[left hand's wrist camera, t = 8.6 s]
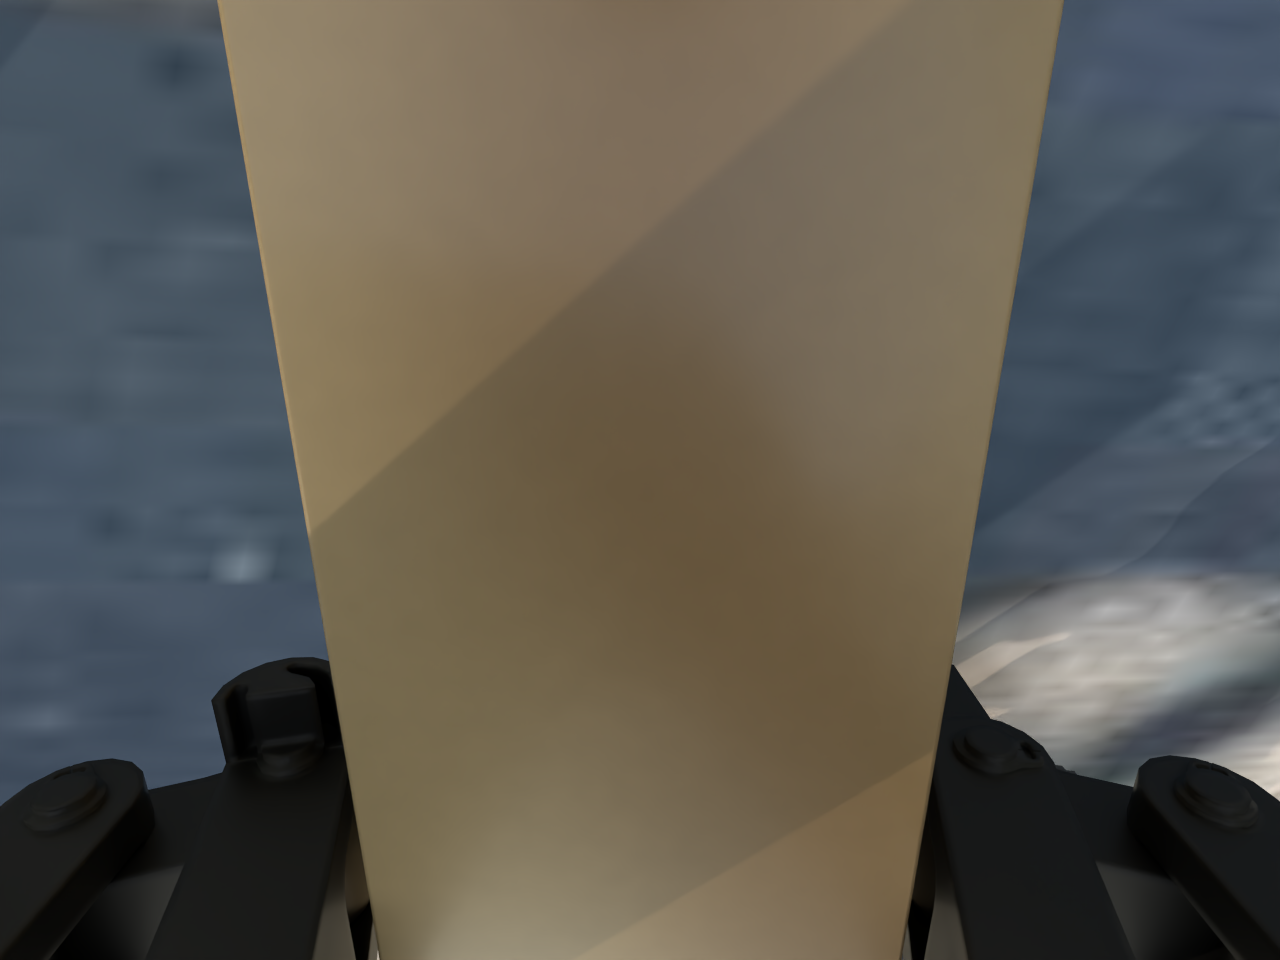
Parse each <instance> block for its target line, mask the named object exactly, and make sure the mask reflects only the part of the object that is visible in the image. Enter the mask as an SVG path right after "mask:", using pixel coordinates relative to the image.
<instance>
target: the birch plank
mask: <svg viewBox="0 0 1280 960" xmlns="http://www.w3.org/2000/svg"><path fill="white" fill-rule="evenodd" d="M217 1H218V7H219V12H220V18H221V24H222V30H223V36H224V42H225V48H226V54H227V60H228V66H229V72H230V77H231V83H232V89H233V95H234V101H235V107H236V113H237V119H238V125H239V131H240V137H241V143H242V148H243V154H244V160H245V166H246V172H247V178H248V184H249V190H250V196H251V202H252V208H253V213H254V219H255V225H256V231H257V237H258V243H259V249H260V255H261V261H262V267H263V273H264V278H265V284H266V290H267V296H268V302H269V308H270V314H271V320H272V326H273V332H274V338H275V344H276V349H277V355H278V361H279V367H280V373H281V379H282V385H283V391H284V397H285V403H286V409H287V414H288V420H289V426H290V432H291V438H292V444H293V450H294V456H295V462H296V468H297V474H298V479H299V485H300V491H301V497H302V503H303V509H304V515H305V521H306V527H307V533H308V539H309V545H310V550H311V556H312V562H313V568H314V574H315V580H316V586H317V592H318V598H319V604H320V610H321V615H322V621H323V627H324V633H325V639H326V645H327V651H328V657H329V663H330V669H331V675H332V680H333V686H334V692H335V698H336V704H337V710H338V716H339V722H340V728H341V734H342V740H343V746H344V751H345V757H346V763H347V769H348V775H349V781H350V787H351V793H352V799H353V805H354V811H355V816H356V822H357V828H358V834H359V840H360V846H361V852H362V858H363V864H364V870H365V876H366V881H367V887H368V893H369V899H370V905H371V911H372V917H373V923H374V929H375V935H376V941H377V947H378V952H379V958H380V960H901V959H902V953H903V947H904V941H905V935H906V929H907V923H908V918H909V912H910V906H911V900H912V894H913V888H914V882H915V876H916V870H917V865H918V859H919V853H920V847H921V841H922V835H923V829H924V823H925V817H926V812H927V806H928V800H929V794H930V788H931V782H932V776H933V770H934V764H935V758H936V753H937V747H938V741H939V735H940V729H941V723H942V717H943V711H944V705H945V700H946V694H947V688H948V682H949V676H950V670H951V664H952V658H953V652H954V646H955V641H956V635H957V629H958V623H959V617H960V611H961V605H962V599H963V593H964V588H965V582H966V576H967V570H968V564H969V558H970V552H971V546H972V540H973V535H974V529H975V523H976V517H977V511H978V505H979V499H980V493H981V487H982V481H983V476H984V470H985V464H986V458H987V452H988V446H989V440H990V434H991V428H992V423H993V417H994V411H995V405H996V399H997V393H998V387H999V381H1000V375H1001V370H1002V364H1003V358H1004V352H1005V346H1006V340H1007V334H1008V328H1009V322H1010V316H1011V311H1012V305H1013V299H1014V293H1015V287H1016V281H1017V275H1018V269H1019V263H1020V258H1021V252H1022V246H1023V240H1024V234H1025V228H1026V222H1027V216H1028V210H1029V204H1030V199H1031V193H1032V187H1033V181H1034V175H1035V169H1036V163H1037V157H1038V151H1039V146H1040V140H1041V134H1042V128H1043V122H1044V116H1045V110H1046V104H1047V98H1048V93H1049V87H1050V81H1051V75H1052V69H1053V63H1054V57H1055V51H1056V45H1057V39H1058V34H1059V28H1060V22H1061V16H1062V10H1063V4H1064V0H217Z"/></svg>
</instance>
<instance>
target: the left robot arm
mask: <svg viewBox="0 0 1280 960" xmlns="http://www.w3.org/2000/svg"><path fill="white" fill-rule="evenodd" d="M211 701H212V705H213V710H214V714H215V718H216V722H217V726H218V731H219V735H220V739H221V743H222V747H223V752H224V756H225V760H226V765H225V767H224V770H223V772H222V773H219V774H215V775H212V776H208V777H205V778H201V779H197V780H192V781H187V782H183V783H178V784H174V785H169V786H165V787H160V788H155V789H151V790H148V788H147V785H146V781H145V778H144V774H143V771H142V770H141V769H139V768H138V767H137V766H136V765H135V764H134V763H132V762H129V761H124V760H118V759H104V760H95V761H86V762H83V763H80V764H76V765H73V766H69V767H66V768H63V769H60V770H58V771H55V772H53V773H51V774H49V775H47V776H45V777H43V778H41V779H39V780H37V781H35V782H33V783H31V784H29V785H28V786H26V787H25V788H24V789H22V790H21V791H20V792H18V793H17V794H16V795H14V796H13V797H12V798H10V799H9V800H8V801H6V802H5V803H4V804H3V805H2V806H0V960H377V952H378V947H377V941H376V935H375V929H374V923H373V917H372V911H371V905H370V899H369V893H368V887H367V881H366V876H365V870H364V864H363V858H362V852H361V846H360V840H359V834H358V828H357V822H356V816H355V811H354V805H353V799H352V793H351V787H350V781H349V775H348V769H347V763H346V757H345V751H344V746H343V740H342V734H341V728H340V722H339V716H338V710H337V704H336V698H335V692H334V686H333V680H332V675H331V669H330V663H329V661H326V660H322V659H319V658H315V657H299V658H287V659H282V660H278V661H273V662H268V663H265V664H263V665H260V666H258V667H255V668H253V669H250V670H248V671H245V672H243V673H241V674H240V675H238V676H237V677H235V678H234V679H232V680H231V681H229V682H228V683H226V684H225V685H223V687H222V688H221V689H220V690H219V691H218V693H217V694H216V695H215V696H214V698H213V699H212V700H211ZM902 955H903V960H1280V801H1279V800H1277V799H1276V798H1275V797H1273V796H1272V795H1271V794H1269V793H1268V792H1267V791H1265V790H1264V789H1262V788H1261V787H1260V786H1258V785H1257V784H1256V783H1254V782H1253V781H1251V780H1249V779H1247V778H1245V777H1243V776H1241V775H1239V774H1237V773H1235V772H1233V771H1231V770H1229V769H1227V768H1225V767H1222V766H1219V765H1216V764H1214V763H1209V762H1207V761H1203V760H1199V759H1196V758H1188V757H1179V756H1171V755H1169V756H1163V757H1157V758H1151V759H1149V760H1148V761H1147V762H1145V763H1144V764H1143V765H1142V766H1141V767H1140V768H1139V770H1138V773H1137V777H1136V780H1135V784H1134V787H1130V786H1126V785H1121V784H1117V783H1112V782H1108V781H1103V780H1098V779H1094V778H1089V777H1085V776H1080V775H1076V774H1073V773H1069V772H1066V771H1062V770H1059V769H1056V766H1055V764H1054V762H1053V760H1052V759H1051V758H1050V756H1049V755H1048V753H1047V752H1046V750H1045V749H1044V748H1043V746H1042V745H1040V744H1039V743H1038V742H1036V741H1035V740H1034V739H1032V738H1031V737H1030V736H1028V735H1027V734H1026V733H1025V732H1023V731H1021V730H1018V729H1016V728H1014V727H1012V726H1010V725H1008V724H1005V723H1003V722H1001V721H997V720H993V719H990V717H989V716H988V714H987V713H986V712H985V710H984V709H983V707H982V706H981V704H980V703H979V701H978V700H977V698H976V697H975V696H974V694H973V693H972V691H971V690H970V688H969V687H968V685H967V684H966V682H965V681H964V680H963V678H962V677H961V675H960V674H959V672H958V671H957V669H956V668H955V666H954V665H951V670H950V676H949V682H948V688H947V694H946V700H945V705H944V711H943V717H942V723H941V729H940V735H939V741H938V747H937V753H936V758H935V764H934V770H933V776H932V782H931V788H930V794H929V800H928V806H927V812H926V817H925V823H924V829H923V835H922V841H921V847H920V853H919V859H918V865H917V870H916V876H915V882H914V888H913V894H912V900H911V906H910V912H909V918H908V923H907V929H906V935H905V941H904V947H903V953H902ZM901 960H902V959H901Z"/></svg>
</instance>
